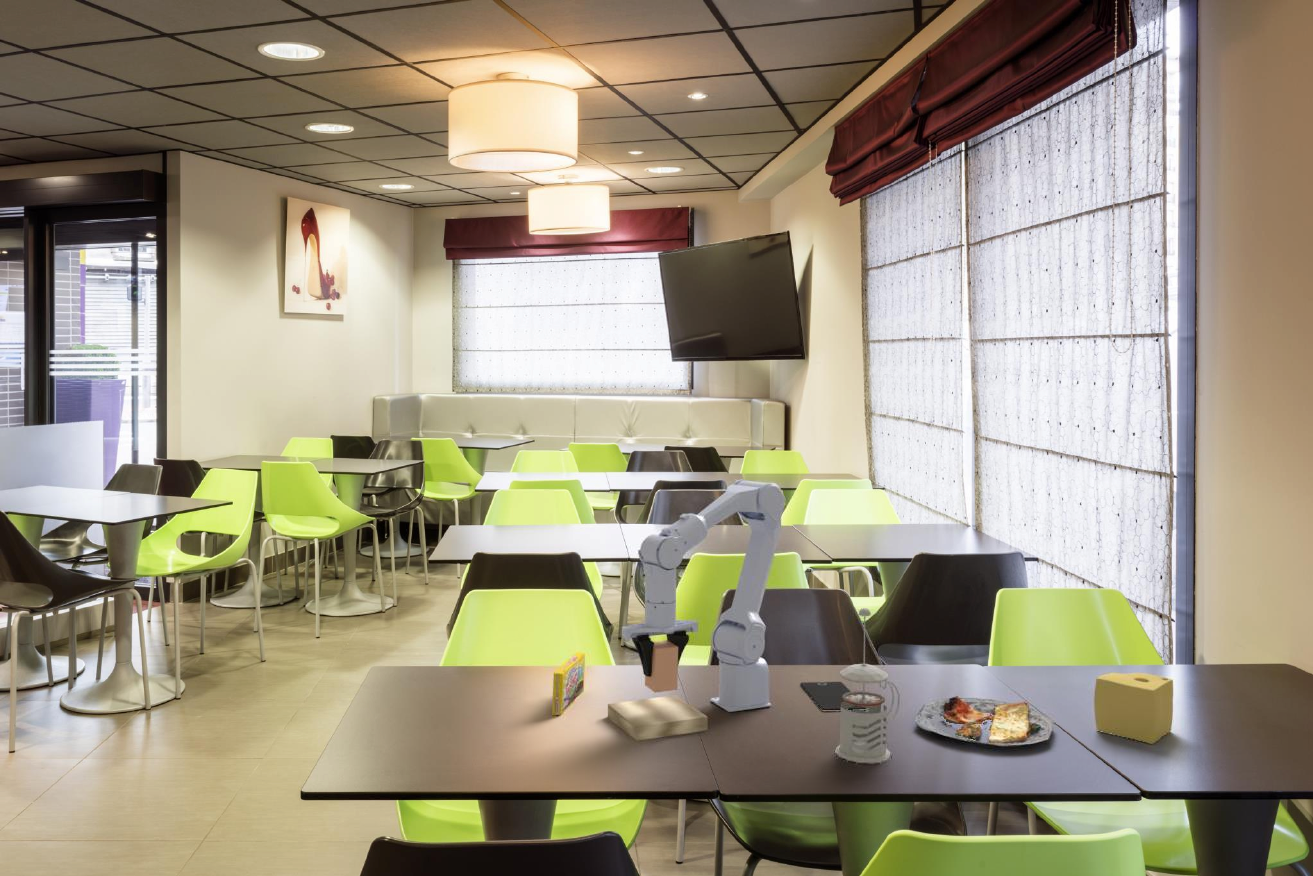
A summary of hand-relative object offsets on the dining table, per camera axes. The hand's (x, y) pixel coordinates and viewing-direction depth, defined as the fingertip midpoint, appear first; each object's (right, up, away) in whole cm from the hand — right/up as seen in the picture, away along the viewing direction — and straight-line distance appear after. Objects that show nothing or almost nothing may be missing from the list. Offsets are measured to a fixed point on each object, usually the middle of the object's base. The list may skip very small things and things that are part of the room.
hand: (660, 673), depth 187 cm
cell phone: (+35, -9, +17) cm, 40 cm away
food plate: (+59, -10, -1) cm, 60 cm away
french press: (+35, -11, -14) cm, 39 cm away
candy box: (-18, -9, +13) cm, 24 cm away
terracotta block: (0, -2, 0) cm, 2 cm away
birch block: (-1, -10, +1) cm, 10 cm away
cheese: (+86, -10, -3) cm, 87 cm away
